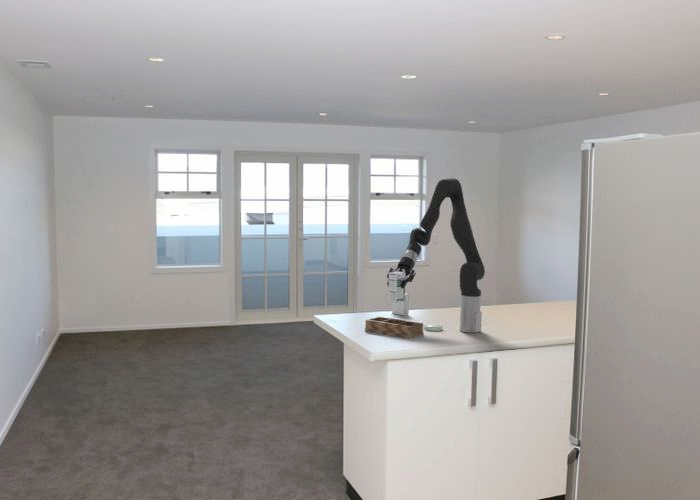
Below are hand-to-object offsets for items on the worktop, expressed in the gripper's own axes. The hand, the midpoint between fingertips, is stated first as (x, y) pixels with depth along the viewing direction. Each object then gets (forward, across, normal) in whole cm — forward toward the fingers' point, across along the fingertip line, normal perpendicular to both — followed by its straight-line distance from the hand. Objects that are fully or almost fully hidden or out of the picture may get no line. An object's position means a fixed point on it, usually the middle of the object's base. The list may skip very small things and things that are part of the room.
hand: (395, 286), depth 328 cm
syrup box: (+4, 0, +6) cm, 8 cm away
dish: (+9, +17, +19) cm, 28 cm away
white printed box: (-7, -16, +35) cm, 39 cm away
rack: (+23, +8, +5) cm, 25 cm away
